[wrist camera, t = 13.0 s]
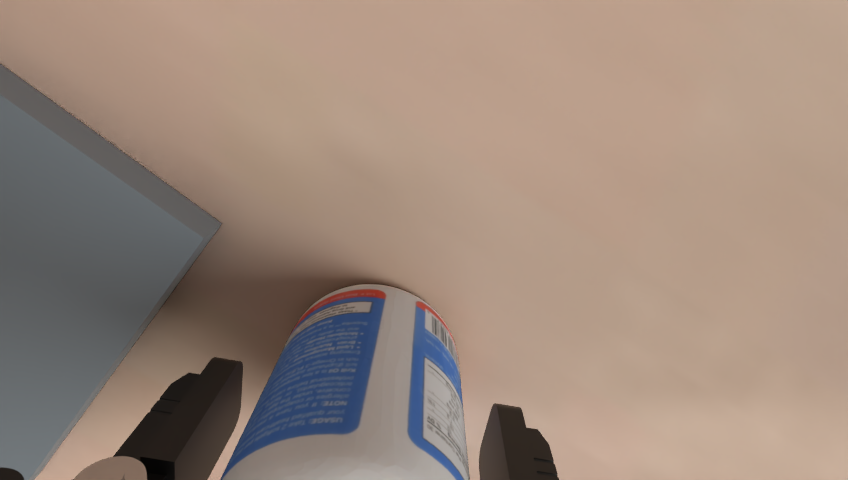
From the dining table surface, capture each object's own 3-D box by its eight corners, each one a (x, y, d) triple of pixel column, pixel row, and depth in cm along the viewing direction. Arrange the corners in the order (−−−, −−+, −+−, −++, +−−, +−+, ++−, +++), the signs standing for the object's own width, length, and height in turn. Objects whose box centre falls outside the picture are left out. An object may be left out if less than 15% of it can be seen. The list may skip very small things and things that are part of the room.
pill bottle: (276, 394, 17) (79, 813, 7) (314, 256, 15) (113, 593, 6) (428, 437, 17) (419, 880, 8) (484, 309, 15) (556, 697, 6)
